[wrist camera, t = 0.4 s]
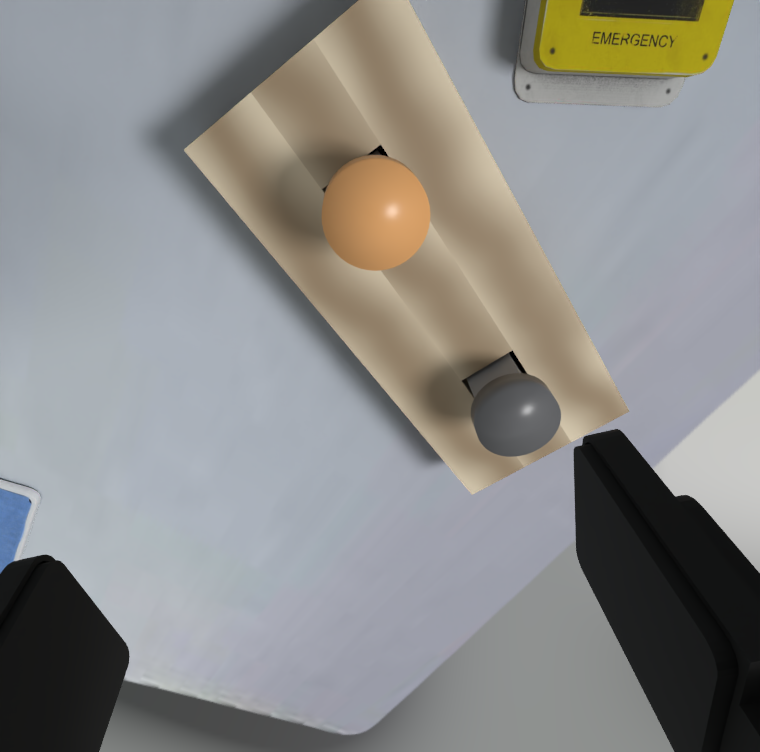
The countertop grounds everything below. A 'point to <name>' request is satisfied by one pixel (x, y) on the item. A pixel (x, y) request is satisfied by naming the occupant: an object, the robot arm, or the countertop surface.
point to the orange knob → (375, 212)
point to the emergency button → (615, 49)
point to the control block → (438, 251)
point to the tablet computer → (16, 520)
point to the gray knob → (512, 409)
